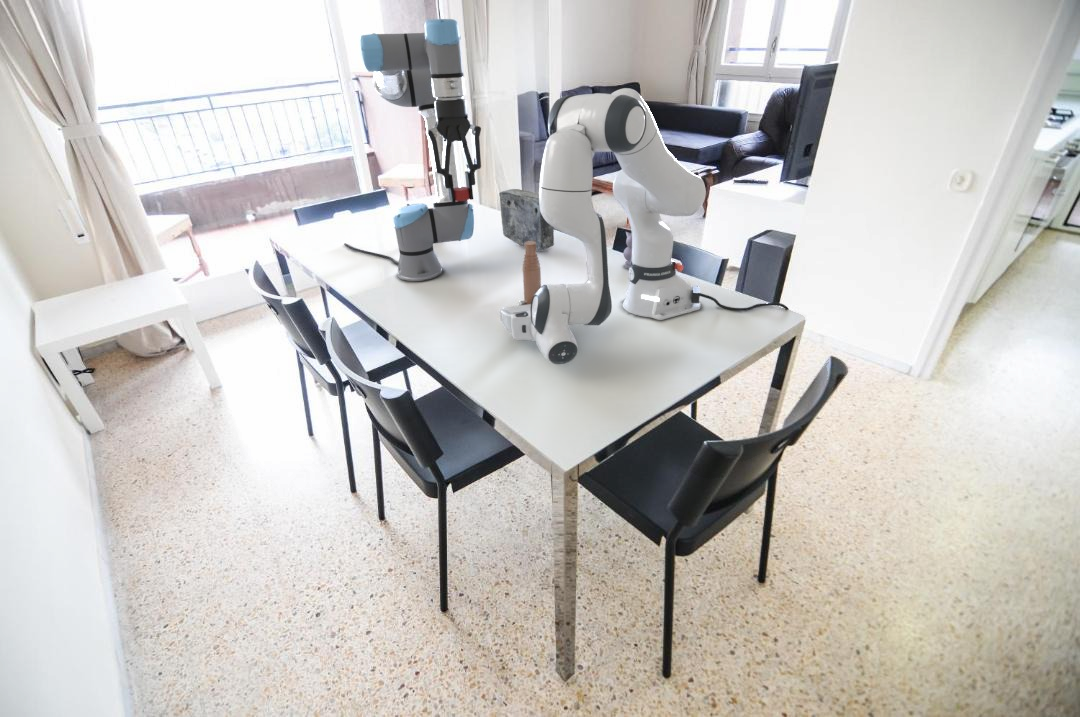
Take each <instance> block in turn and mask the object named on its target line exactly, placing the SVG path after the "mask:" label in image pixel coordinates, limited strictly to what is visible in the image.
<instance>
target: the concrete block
mask: <svg viewBox="0 0 1080 717" xmlns="http://www.w3.org/2000/svg"><path fill="white" fill-rule="evenodd" d="M498 196H499V206H500V216H501V226H502V234H503V236H504V237H506V238H507V239H509V240H511V241H512V242H514V243H515V244H518V245H519V246H521V247H523V248H525V242H527V241H534V242H536V251H538V252H539V251H540V252H542V251H545V250H547V249H549V248H551V247H554V245H555V233H554V232H555V230H554V229H555V228H554V227H552V226H551V225H550V224H548V223H547V222H546V221H545V219H544V218H543V216H542V214H541V212H540V207H539V193H537V192H533V191H530V190H524V189H520V188H510V189H505V190H503V191H500V192H499V193H498Z"/></svg>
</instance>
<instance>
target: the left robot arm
mask: <svg viewBox="0 0 1080 717" xmlns="http://www.w3.org/2000/svg"><path fill="white" fill-rule="evenodd" d="M461 39H462V37H461V34H460V28H459V23H458V21H457V20H455V19H453V18H435V19H434V18H433V19H427V20H426V21H425V22H424V32H408V33H407V32H406V33H374V32H373V33H371V34H363V35H360V37H359V39H358V42H359V48H360V53H361V58H362V64H363V67H364V70H365V71H366V72H369V73H373V74H372V75H373V76H372V84H373V87H374V89H375V91H376V93H377V94H378V95H379V96H380V98H382V100H384V101H386V102H388V103H390V104H392V105H395V106H398V107H403V108H417V109H418V113H419V115H421V116H422V117H423V118H424V121H425V122H424V123H425V128H426V130H425V135H426V136H427V141H428V148H429V156H430V162H431V168H432V175H433V181H434V187H435V196H436V197H435V198H434V200H433V201H432V204H433V207H430V208H429V207H428V205H427V204H425V203H413V204H409V205H408V206H407V205H405V206H402V207H400V208H398V209H397V210H396V211H394V213H393V216H392V219H393V228H394V229H395V235H396V241H397V247H398V251H399V259H398V261H397V260H396V259H394V258H393V257H391V256H389V255H385V254H381V253H377V252H372V251H368V250H364V249H361V248H356V247H354V246H352V245H350V244H348V243H343V245H344V246H345V247H347V248H348V249H350V250H352V251H355V252H359V253H362V254H366V255H371V256H375V257H380V258H384V259H388V260H390V261H391V262H393V264H395V265H397V276H398V278H399V279H400V280H402V281H406V282H413V283H414V282H425V281H429V280H432V279H435V278H438V277H439V276H440V275H441V274H442V273H443V268H442V264H441V263H440V260H439V259H438V257H439V256H438V253H436V252H435V250H434V244H440V243H441V244H442V243H450V242H461V241H465V240H469V239H471V238H472V237H473V234H474V230H475V214H474V206H473V204H472V203H469V202H468V200H465V201H455V195H454V188H456V187H462V183H461V175H460V167H459V161H458V154H457V146H456V145H457V144H456V142H458V144H459V146H460V149H461V153H462V156H463V159H464V163H465V166H466V169H467V171H464V176H465V185H466V186H465V187H468V188H469V195H470V199H469V200H471V201H472V200H474V192H473V186H475V185H476V176H475V174H476V171H477V170H480V169H481V168H482V159H481V144H480V135H481V132H482V127H481V126H479V125H477V124H476V125H475V124H472V123H471V121H470V120H469V114H468V105H467V100H466V99H465V98H464V97H465V96H466V86H465V77H464V76H465V75H464V67H463V56H462V46H461V45H462V44H461ZM468 132H470V135H471V144H472V145H471V146H472V156H471V152H470V150H469V146H468V141H467V138H466V136H467V134H468Z"/></svg>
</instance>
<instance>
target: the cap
mask: <svg viewBox="0 0 1080 717" xmlns="http://www.w3.org/2000/svg"><path fill="white" fill-rule="evenodd" d="M454 195H455V201H465V200H467V201H468V200H470V195H469V188H468V187H466V186H461V187H456V188H454Z"/></svg>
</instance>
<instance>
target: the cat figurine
mask: <svg viewBox="0 0 1080 717" xmlns="http://www.w3.org/2000/svg"><path fill="white" fill-rule="evenodd" d="M625 234H626V239H625V245H626V247H625V248H624V250H623V254H622V255H623V257H624V259H625V260H626V261H625V263H624V267H625V268H626V269H627V270H629V265H630V260H631V259H632V232H628V231H625Z"/></svg>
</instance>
